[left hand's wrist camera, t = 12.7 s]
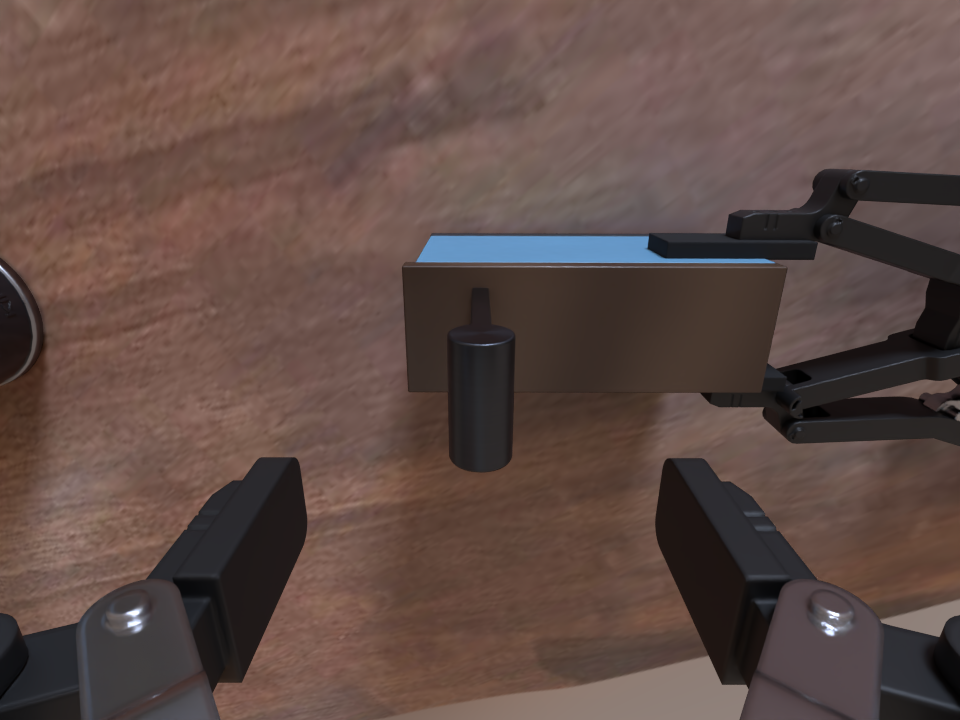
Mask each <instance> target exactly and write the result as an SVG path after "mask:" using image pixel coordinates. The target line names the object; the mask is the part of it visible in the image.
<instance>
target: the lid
mask: <svg viewBox="0 0 960 720" xmlns="http://www.w3.org/2000/svg"><path fill="white" fill-rule="evenodd" d="M786 273H787V267H785V266H783V265H780V264H777V263H535V262H405V263H404V265H403V266H402V276H403V296H404V316H405V336H406V356H407V376H408V391H409V392H448V416H449V456H450V459H451V461H452V462H453V464H455V465H456V466H457V467H459V468H461V469H464V470H467V471H471V472H491V471H495V470H498V469H501V468H503V467H504V466H506V465H507V464H508V463H509V462H510V460H511V458H512V444H513V409H514V392H643V393H760V392H761V390H762V386H763V381H764V376H765V371H766V367H767V362H768V357H769V353H770V348H771V343H772V338H773V334H774V329H775V324H776V320H777V315H778V310H779V306H780V301H781V296H782V291H783V287H784V282H785V277H786Z"/></svg>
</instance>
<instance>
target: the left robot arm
mask: <svg viewBox="0 0 960 720" xmlns="http://www.w3.org/2000/svg"><path fill="white" fill-rule="evenodd" d="M42 344H43V324H42V319H41V315H40V311H39V308H38V306H37V304H36V301H35V299H34V297H33V295H32V293H31V292H30V290H29V289H28V287H27V286H26V284H25V283H24V282H23V280H22V279H21V278H20V276H19V275H18V274H17V273H16V272H15V271H14V270H13V269H12V268H11V267H10V266H9V265H8V264H7V263H6V262H4V261H3V260H2V259H1V258H0V386H1V385H4V384H6V383H8V382H10V381H13V380H15V379H17V378H19V377H20V376H22V375H23V374H25V373H26V372H27V371H28V370H29V369H30V368H31V367H32V366H33V365H34V363H35V362H36V360H37V358H38V356H39V354H40V351H41V348H42ZM655 527H656V536H657V541H658V544H659V547H660V549H661V552H662V554H663V556H664V558H665V560H666V563H667V565H668V567H669V569H670V571H671V574H672V576H673V578H674V580H675V582H676V585H677V587H678V589H679V591H680V593H681V595H682V598H683V600H684V602H685V604H686V606H687V609H688V611H689V613H690V615H691V617H692V620H693V622H694V624H695V626H696V628H697V631H698V633H699V635H700V637H701V639H702V642H703V644H704V646H705V648H706V650H707V653H708V655H709V657H710V659H711V661H712V664H713V666H714V668H715V670H716V672H717V674H718V677H719V679H720V681H721V683H722V685H747V687H748V689H749V691H748V694H747V697H746V700H745V704H744V707H743V710H742V713H741V717H740V720H960V615H959V616H954V617H952V618H950V619H949V620H948V621H947V622H946V624H945V626H944V628H943V631H942V633H941V635H940V637H936V636H932V635H928V634H924V633H919V632H915V631H911V630H907V629H903V628H898V627H894V626H890V625H887V624H883V623H881V621H880V619H879V618H878V616H877V615H876V614H875V612H874V611H873V610H872V609H871V608H870V607H869V606H868V605H867V604H866V603H864V602H863V601H862V600H861V599H859V598H858V597H856V596H855V595H853V594H852V593H850V592H848V591H846V590H844V589H842V588H840V587H838V586H836V585H833V584H830V583H827V582H823V581H819V580H817V579H816V577H815V576H814V575H813V574H812V572H811V571H810V570H809V568H808V567H807V566H806V565H805V563H804V562H803V561H802V560H801V558H800V557H799V556H798V555H797V553H796V552H795V551H794V550H793V548H792V547H791V546H790V544H789V543H788V542H787V541H786V539H785V538H784V537H783V536H782V534H781V533H780V532H779V531H776V527H775V525H774V524H773V523H772V522H771V520H770V519H769V518H768V517H765V513H764V512H763V510H762V509H761V508H760V507H759V505H758V504H757V503H756V501H755V500H754V499H753V498H752V496H750V495H749V494H747V493H746V492H745V491H743V490H742V489H740V488H739V487H737V486H736V485H734V484H733V483H731V482H721V481H720V480H719V478H718V477H717V475H716V474H715V473H714V471H713V470H712V469H711V467H710V466H709V465H708V463H707V462H706V461H705V460H704V459H702V458H668V459H666V460H665V462H664V465H663V470H662V477H661V483H660V490H659V497H658V504H657V511H656V519H655ZM306 532H307V513H306V506H305V499H304V492H303V485H302V478H301V471H300V465H299V462H298V460H297V459H296V458H294V457H261V458H259V459H258V460H257V461H256V462H255V464H254V465H253V466H252V468H251V469H250V471H249V472H248V473H247V475H246V476H245V477H244V479H243V480H242V481H232V482H230V483H229V484H227V485H226V486H224V487H223V488H222V489H220V490H219V491H217V492H216V493H214V494H213V495H212V496H211V497H210V498H209V500H208V501H207V502H206V503H205V505H204V506H203V507H202V508H201V510H200V511H199V515H196V516H195V517H194V519H193V520H192V521H191V522H190V524H189V525H188V528H187V530H184V531H183V533H182V534H181V535H180V537H179V538H178V539H177V540H176V542H175V543H174V544H173V545H172V547H171V548H170V549H169V551H168V552H167V553H166V554H165V556H164V557H163V558H162V559H161V561H160V562H159V563H158V565H157V566H156V567H155V568H154V570H153V571H152V572H151V574H150V575H149V576H148V577H147V579H146V580H141V581H137V582H133V583H130V584H127V585H124V586H122V587H120V588H118V589H116V590H114V591H112V592H110V593H108V594H107V595H105V596H104V597H102V598H101V599H99V600H98V601H97V602H96V603H94V604H93V605H92V606H91V607H90V608H89V609H88V610H87V611H86V612H85V614H84V615H83V616H82V618H81V619H80V621H79V622H78V623H75V624H71V625H66V626H62V627H58V628H54V629H50V630H45V631H41V632H37V633H33V634H29V635H24V636H22V634H21V631H20V629H19V626H18V624H17V622H16V620H15V619H14V618H13V617H12V616H10V615H8V614H3V613H0V720H220V717H219V713H218V710H217V707H216V704H215V700H214V697H213V694H212V693H213V691H214V689H215V687H216V685H217V683H242V681H243V679H244V676H245V674H246V672H247V670H248V668H249V665H250V663H251V661H252V659H253V656H254V654H255V652H256V650H257V648H258V645H259V643H260V641H261V639H262V636H263V634H264V632H265V630H266V628H267V625H268V623H269V621H270V619H271V616H272V614H273V612H274V610H275V608H276V605H277V603H278V601H279V599H280V596H281V594H282V592H283V590H284V588H285V585H286V583H287V581H288V579H289V576H290V574H291V572H292V570H293V568H294V565H295V563H296V561H297V559H298V556H299V554H300V552H301V550H302V548H303V545H304V542H305V538H306Z"/></svg>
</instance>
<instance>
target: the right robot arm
mask: <svg viewBox="0 0 960 720" xmlns="http://www.w3.org/2000/svg"><path fill="white" fill-rule="evenodd" d="M812 188H813V190H814V192H813V193H812V195H811V197H810V199H809V200H808V201H807V203H806V204H805V205H803V206H802V207H800V208H794V209H790V210H739V211H737V212H734V213H731V214H729V217H728V223H727V229H726V234H708V233H649V239H648V248H647V249H649V250H651V251H653V252H655V253H656V254H658V255H660V256H662V257H664V258H666V259H767V260H814V257H815V253H816V249H817V244H818V242H820V243H823V244H826V245H829V246H832V247H835V248H838V249H841V250H845V251H848V252H851V253H854V254H857V255H860V256H863V257H866V258H869V259H872V260H875V261H878V262H882V263H885V264H888V265H891V266H894V267H897V268H900V269H903V270H906V271H908V272H911V273H914V274H917V275H920V276H923V277H927V278H930V281H929V284H928V287H927V291H926V306H925V309H924V311H923V313H922V314H921V316H920V318H919V319H918V321H917V323H916V326H915V328H914V329H910V330H906V331H902V332H898V333H895V334H891V335H889V336H888V340H886V341H882V342H879V343H875V344H871V345H867V346H863V347H859V348H855V349H851V350H847V351H844V352H840V353H836V354H832V355H828V356H824V357H820V358H816V359H812V360H809V361H805V362H801V363H797V364H793V365H789V366H785V367H781V368H777V369H775V368H773V367H772V366H771V365H769V364H768V363H767V367H766V371H765V376H764V381H763V386H762V390H761V392H760V393H701V394H702V395H703V397H704V398H705V399H706V400H707V401H708V402H709V403H710V404H713V405H715V406H718V407H764V409H763V412H762V413H763V417H764V419H765V420H766V421H768V422H769V423H770V424H771V425H772V426H773V427H774V428H775V429H776V430H777V431H778V432H780V433H781V434H782V435H783V436H784V437H785V438H786V439H787V440H788V441H790V442H791V443H796V444H799V443H824V442H849V441H874V440H899V439H924V438H935V439H938V440H941V441H945V442H948V443H951V444H955V445H958V446H960V255H959V254H956V253H953V252H950V251H947V250H944V249H941V248H938V247H935V246H932V245H929V244H926V243H923V242H920V241H917V240H914V239H911V238H908V237H905V236H902V235H899V234H896V233H893V232H890V231H887V230H884V229H881V228H878V227H875V226H872V225H869V224H866V223H863V222H860V221H857V220H854V219H851V218H848V217H849V215H850V213H851V212H852V210H853V208H854V207H855V205H856V203H857V202H858V200H860V201H879V202H898V203H917V204H935V205H954V206H960V175H943V174H925V173H906V172H888V171H869V170H846V169H825V170H823V171H821V172H819V173H818V174H817V175H816V176H815V178H814V180H813V186H812ZM814 241H817V242H814ZM923 379H928V380H935V381H942V380H948V379H952V380H953V381H954V382H955V383H956V384H958V385H957V386H956V387H955V388H954V389H953V390H952V391H950V392H947V393H935V394H932V395H931V394H929V393H923V394H921V396H920V397H919V399H914V398H910V397H872V398H850V397H854V396H858V395H862V394H866V393H870V392H874V391H878V390H882V389H886V388H890V387H894V386H898V385H902V384H906V383H910V382H914V381H918V380H923ZM846 398H848V399H846Z"/></svg>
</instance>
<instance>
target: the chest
mask: <svg viewBox="0 0 960 720" xmlns="http://www.w3.org/2000/svg"><path fill="white" fill-rule="evenodd" d="M648 239H649V234H476V233H432V234H431V237H430V239H429V241H428V242H427V244H426V246H425V247H424V249H423V251H422V253H421V254H420V256H419V258H418V260H417V261H416V262H535V263H775V262H772V261H769V260H767V259H666V258H664V257H662V256H660V255H658V254H656V253H655V252H653V251H651V250H649V249H647V248H648Z"/></svg>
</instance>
